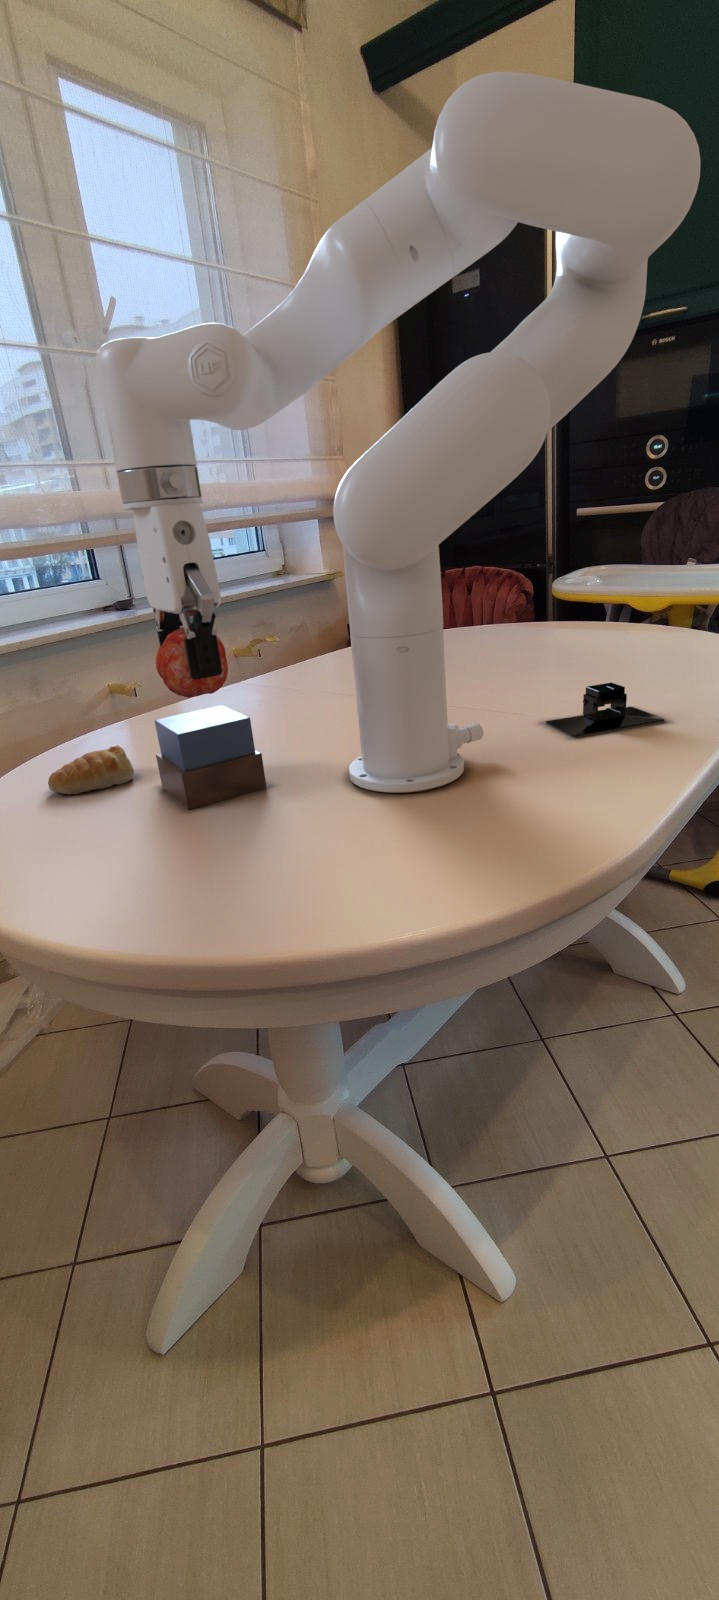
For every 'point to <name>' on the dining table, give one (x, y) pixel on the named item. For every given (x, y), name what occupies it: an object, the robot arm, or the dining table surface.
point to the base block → (212, 779)
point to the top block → (205, 737)
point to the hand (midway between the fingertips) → (192, 670)
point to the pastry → (92, 772)
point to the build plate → (604, 713)
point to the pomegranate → (186, 668)
